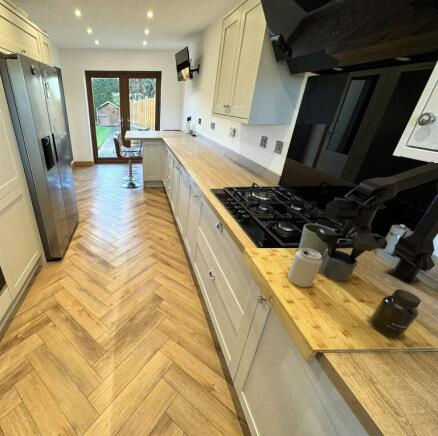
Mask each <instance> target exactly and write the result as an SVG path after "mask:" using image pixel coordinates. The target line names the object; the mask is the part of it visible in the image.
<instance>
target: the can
mask: <svg viewBox="0 0 438 436" xmlns="http://www.w3.org/2000/svg"><path fill="white" fill-rule="evenodd" d="M321 257H322V255H321V254H320V253H319V252H317V251H315V250H313V249H309V248H301V249H300V250H299V251H298V250H297V251H296V252H295V255H294V256H293V260H292V262H291V265H290V268H289V270H288V273H287V278H288V280H289V281H290V282H291V283H292V284H293V285H295V286H298V287H300V288H309V287H311V286H313V284H314V282H315V279H316V277H317V275H318V272H319V271H320V270H319V268H320V266H321V264H322V259H323V257H322V259H321Z"/></svg>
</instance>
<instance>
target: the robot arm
mask: <svg viewBox="0 0 438 436" xmlns="http://www.w3.org/2000/svg"><path fill="white" fill-rule="evenodd" d="M437 179H438V163H434V162H432V161H430V162H429V163H426V164H423V165H421V166H417V167H414V168H412V169H409V170H406V171H403V172H400V173H397V174H394V175H391V176H388V177H387V176H386V177H384V176H383V177H373V178H368V179H364V180H362V181H360V183H359V184H358V185H357V186H356V187H354V188H353V189H352V190H350V191H349V192H348V193H347V194H345V195H344V196H343V198H342V197H334V199H333V201H330V202H328V203H327V204H326V205H325V208H324V214H325V216H326V218H327V219H329V220H342V221H344V222H345V223H344V225H343V227H342V228H339V230H338V231H339V232H340V233H338V232H337V233H336V232H335V231H334V230H333V229H332V228H330V229H323V228H320V229H318V230H317V233H316V235H317V236H318V237H319V238H320V239H321V240H322V241H323V242H325V243H327V247H328V248H327V250H328V254H329V256H330V257H331V258H332V257H333V255H334V253H335V251H336V250H337V248H338V247H341V244H340V243H339V242H340V241H349V242H351V243H352V244H353V246H352V249H351V252H350V260H351V261H353V260H354V259H357V258H358V257H359V256H361V255H362V254H364V253H365V252H366V251H367V252H372V251H375V250H377V249H379V250H386V249H387V247H388V244H389V243H388V240H387V239H386V238H385V236H381V235H379V234H378V233H372V230H373V226H372V225H371V223H372V222H373V220H374V217H375V216H376V213H377V211H378V210H385V209H386V208H387V207H386V205H385V204H384V202H386V201H388V200H390V199H392V198H393V199H394V197H395V196H396V195H397V194H398V193H399V192H401V191H404V190H407V189H410V188H414V187H416V186H419V185H422V184H424V183H428V182H431V181H434V180H437ZM435 186H436V194H437V195H436V197H435V198H434V200H433V201H432V203H431V205H430V206H429V208H427V211H426V212H425V214H424V215H423V217H422V218H421V220H420V221H419V223H418V224H417V226H416V227H415V229H414V230H413V232H412V233H410V234H409V235H407V236H405V237H404V236H400V237H399V238H398V240H397V242H396V243H395V244H394V245H393V246H394V249H393V250H394V254H393V256H394V257H396V258H398V259H399V260H398V261H397V263H396V265H395V267H394V268H392V269H389V270H387V271H386V272H387V274H389V275H391V276H392V277H395V278H397V279H399V280H401V281H403V282H405V283H407V284H411V283H415V282H417V281H419V280H420V278H419V277H417V276H418V274H419V273H420V271H423V272H427V271H431V270H432V269H433V268H434V267H435V266H436V264H435V262H434V261H433V258H432V256H433V254H434V252H435V244H434V241H435V239H436V237H437V236H438V181H437V183H436V185H435ZM331 229H332V230H331Z"/></svg>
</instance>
